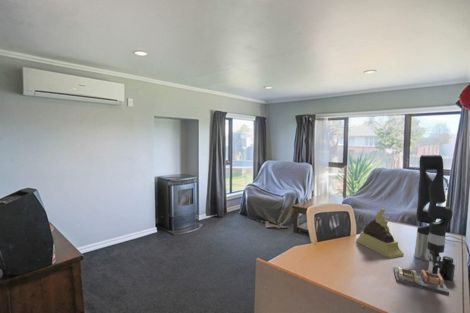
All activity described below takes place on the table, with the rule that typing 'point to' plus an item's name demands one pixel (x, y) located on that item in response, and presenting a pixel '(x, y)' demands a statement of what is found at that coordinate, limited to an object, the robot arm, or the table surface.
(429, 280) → the socket
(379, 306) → the table surface
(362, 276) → the table surface
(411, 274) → the mount board
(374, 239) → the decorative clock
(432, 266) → the peg
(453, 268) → the supplement bottle
